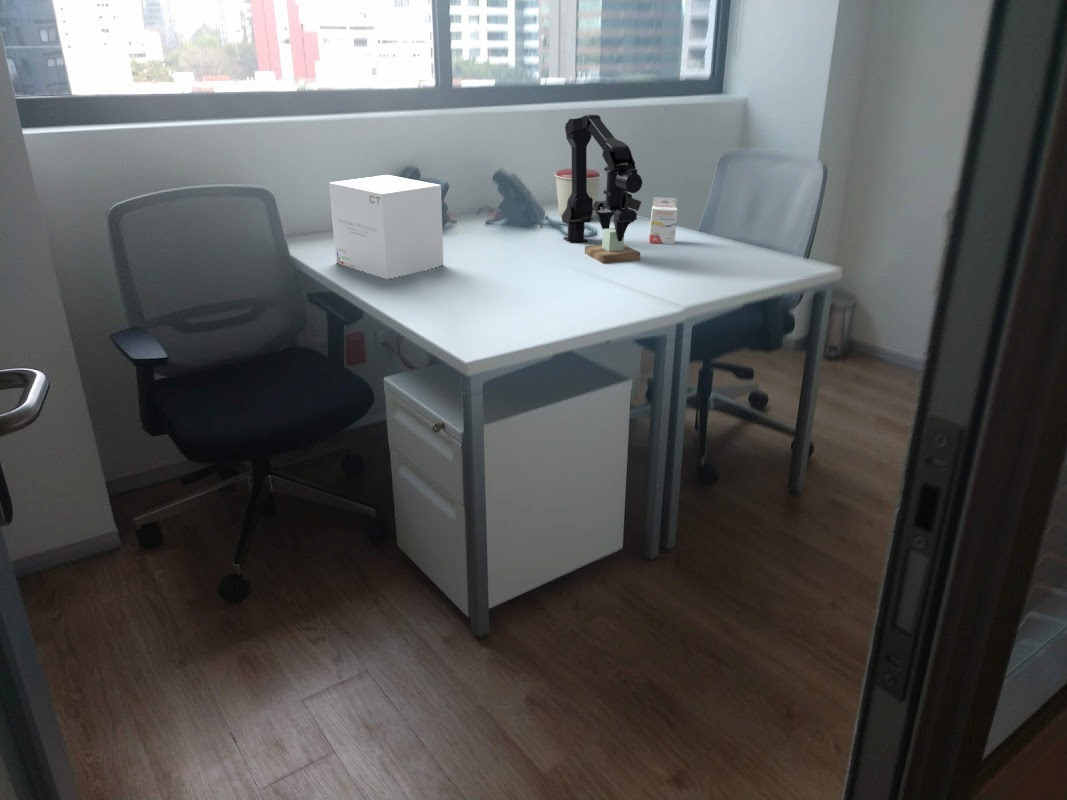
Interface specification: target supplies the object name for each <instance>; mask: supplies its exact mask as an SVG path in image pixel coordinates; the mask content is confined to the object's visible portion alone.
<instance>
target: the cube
mask: <svg viewBox="0 0 1067 800" xmlns="http://www.w3.org/2000/svg"><path fill="white" fill-rule="evenodd" d="M328 187H329V189H328V190H329V198H330V199H329V200H330V208H331V210H330V211H331V222H332V234H333V243H334V256H335V264H337V263H339V264H338V265H340V264H342V265H341V266H343V265H345V266H344V267H346V266H348V267H347V268H349V267H351V268H350V269H352V268H354V269H353V270H355V269H357V270H356V271H358V270H360V271H359V272H362V271H364V272H363V273H365V272H366V274H368V273H370V274H369V275H371V274H373V275H372V276H374V275H376V276H375V277H377V276H379V277H378V278H380V277H382V278H381V279H383V278H385V279H384V280H386V279H388V280H390V279H389V278H392V279H395V278H394V277H396V278H399V277H398V276H400V277H404V276H407V274H408V275H412V274H411V273H413V274H416V273H415V272H417V273H420V272H419V271H421V272H423V271H422V270H425V269H429V268H433V267H437V268H439V267H438V266H441V265H444V242H443V241H444V240H443V238H444V235H443V212H442V211H443V210H442V209H443V208H442V206H443V203H442V185H441V184H437V183H433V182H432V183H431V182H427V181H423V180H422V181H421V180H417V179H410V178H405V177H401V176H396V175H395V176H394V175H390V174H383V175H376V176H371V177H370V176H369V177H363V178H355V179H354V178H353V179H348V180H339V181H330V182H328ZM433 269H434V268H433ZM429 270H430V269H429ZM425 271H426V270H425ZM403 275H404V276H403Z"/></svg>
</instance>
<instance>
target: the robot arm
mask: <svg viewBox="0 0 1067 800" xmlns="http://www.w3.org/2000/svg"><path fill="white" fill-rule="evenodd" d="M564 125H565V126H564V130H565V135H566V140H567V141H568V144H569V145H570V147H571V168H572V193H571V195H570V197H569V199H568V201H567V208H566V210H565V211H564V213H563V214H562V217H561V221H562V223H564V224H566V225H567V235H566V236H564V237H563V239H564V240H565V241H567V242H569V243H584V242H585V243H586V242H588V241H589V240H588V239H587V238H585V224H586V223H588V224H589V223H591V220H592V218H593V217H592V213H593V210H594V211H595V213H594V215H596V218H597V220H598V222H599V225H600V227H601V229H602V230H603V229H609V228H610V225H611V219H612V217H613V218H614V219H613V226H614V228H615V230H616V235H617V239H618V241H622V239H623V236H624V237H625V233H626V230H627V228H628V226H630V224H632V223H634V222H635V221H636V220H637V218H638V213H637V212H638V211H639V210H640V207H641V204H642V201H641V200H639V199H636V198H633V195H632V194H635V193H637V192H639V191H640V190H641V188H642V186H643V179H642V176H641V175H639V174H638V169H636V163H635V160H634V158H633V155H632V151H631V149H630V147H629V145H628V144H626V143H625V142H623V141H622V140H619V139H617V138H616V137H615V136H614V135H613V134H612V133H611V131H610V130H609V129H608V127H607V126H606V124H604V121H602V118H601V116H600V115H598V114H586V115H582V116H581V117H578V118H569V119H568V121H567V122H566V123H565V124H564ZM592 137H593V139H594V140H595V141H596V143H597V144H598V145H599V147H600V148H601V150H602V153H601V154H602V155H601V156H602V158H603V160H604V161H605V163H606V166H605V167H604V168H603V170H604V172H605V171H606V189H604V190H603V195H605V200H597V201H596V202H595V203H594V204H593V199H592V198H590V197H589V195H588V193H587V169H588V168H587V167H588V166H587V165H588V164H587V163H588V162H587V161H588V160H587V159H588V158H587V157H588V156H587V147H588V146H589V144H590V142H591V139H592ZM591 217H592V218H591Z"/></svg>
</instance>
